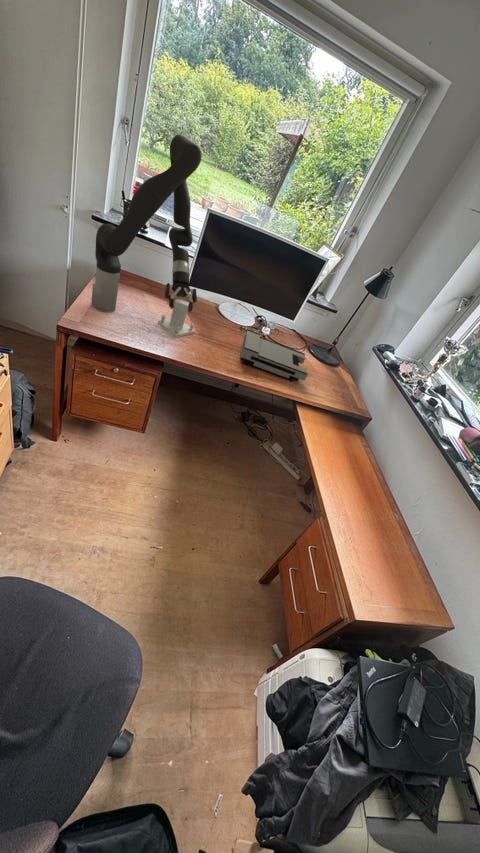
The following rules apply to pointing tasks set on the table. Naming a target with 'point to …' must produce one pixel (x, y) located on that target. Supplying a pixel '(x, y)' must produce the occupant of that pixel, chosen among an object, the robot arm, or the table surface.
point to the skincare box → (179, 313)
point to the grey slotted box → (272, 357)
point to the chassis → (176, 330)
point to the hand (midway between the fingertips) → (181, 309)
